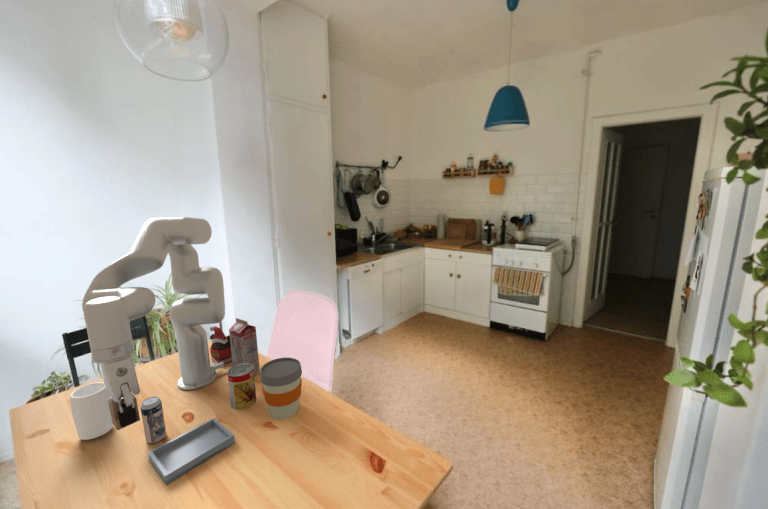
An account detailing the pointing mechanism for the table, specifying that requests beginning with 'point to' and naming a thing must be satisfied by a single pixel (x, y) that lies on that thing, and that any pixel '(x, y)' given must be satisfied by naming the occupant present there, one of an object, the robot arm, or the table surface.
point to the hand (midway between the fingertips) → (125, 418)
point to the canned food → (241, 386)
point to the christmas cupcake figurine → (220, 345)
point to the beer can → (153, 419)
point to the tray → (190, 449)
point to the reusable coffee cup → (281, 386)
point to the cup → (91, 410)
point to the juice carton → (244, 344)
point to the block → (115, 410)
